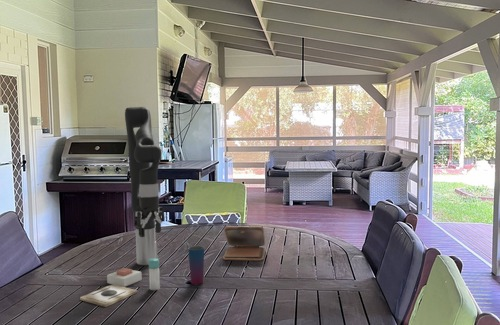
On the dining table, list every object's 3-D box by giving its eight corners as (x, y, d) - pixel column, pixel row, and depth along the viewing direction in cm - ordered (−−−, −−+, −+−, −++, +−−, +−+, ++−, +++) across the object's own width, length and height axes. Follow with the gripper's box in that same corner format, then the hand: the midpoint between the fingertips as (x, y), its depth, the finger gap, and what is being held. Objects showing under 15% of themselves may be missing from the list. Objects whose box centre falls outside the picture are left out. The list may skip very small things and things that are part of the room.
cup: (190, 286, 190) (189, 250, 188) (187, 280, 196) (187, 246, 195) (206, 284, 191) (205, 249, 190) (203, 278, 198) (202, 245, 196)
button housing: (124, 275, 203) (124, 268, 202) (141, 279, 198) (141, 271, 197) (107, 283, 194) (107, 274, 194) (124, 287, 189) (124, 278, 189)
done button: (124, 274, 199) (124, 267, 198) (131, 275, 196) (131, 269, 196) (116, 277, 195) (116, 270, 195) (124, 278, 193) (124, 272, 192)
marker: (154, 285, 190) (153, 257, 189) (162, 287, 188) (161, 259, 187) (147, 289, 187) (146, 260, 185) (155, 291, 184) (154, 262, 183)
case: (266, 249, 242) (265, 219, 241) (263, 261, 222) (262, 229, 220) (227, 249, 244) (227, 219, 243) (221, 261, 224) (220, 229, 222)
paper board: (112, 286, 190) (112, 283, 190) (137, 292, 183) (136, 289, 183) (80, 299, 176) (80, 296, 176) (105, 307, 169) (105, 303, 169)
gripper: (155, 192, 192) (156, 230, 193) (128, 196, 180) (130, 237, 181) (168, 193, 187) (169, 232, 188) (141, 197, 176) (143, 239, 177)
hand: (150, 234), depth 185 cm, fingers open, 8 cm apart
